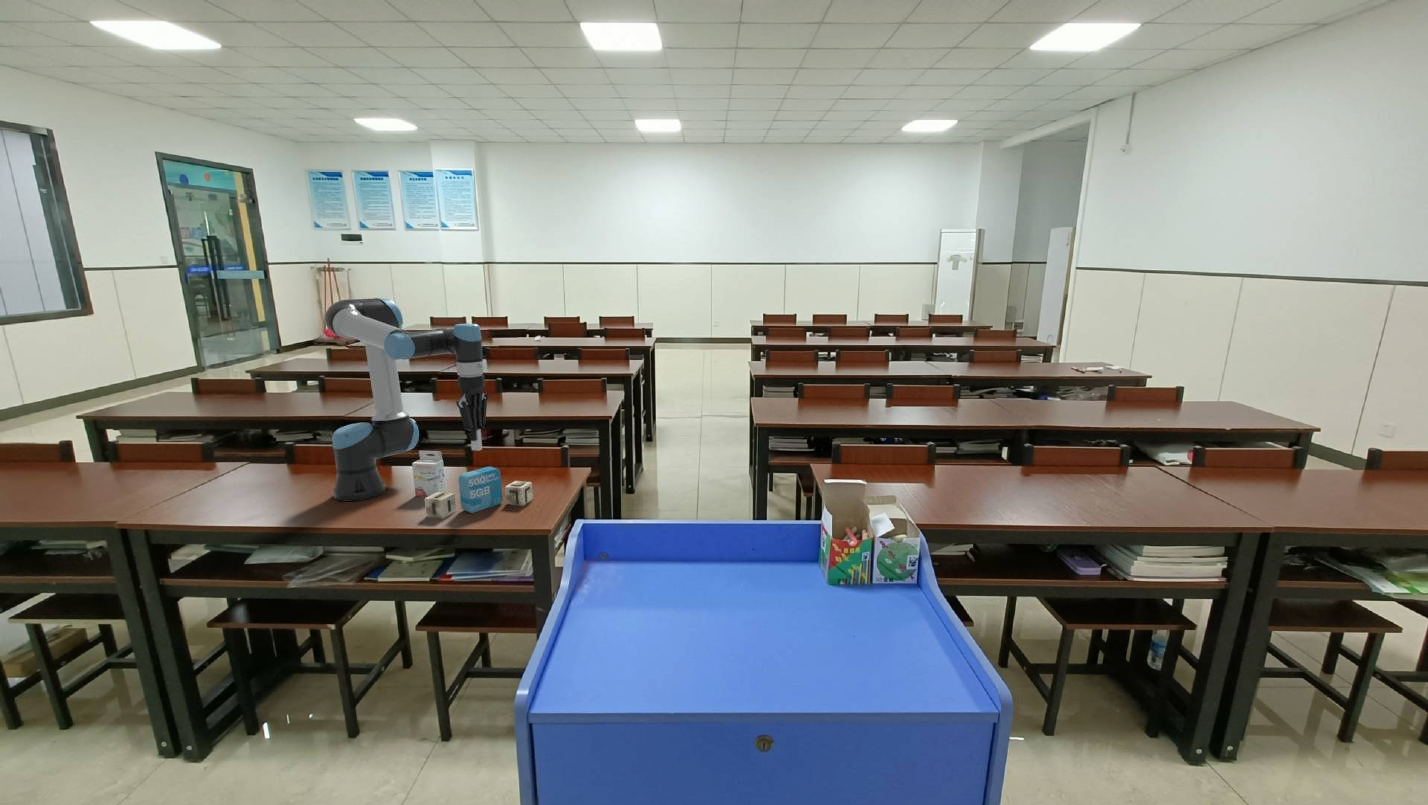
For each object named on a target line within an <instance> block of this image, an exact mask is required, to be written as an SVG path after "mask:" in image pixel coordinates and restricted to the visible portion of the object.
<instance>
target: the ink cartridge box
mask: <svg viewBox="0 0 1428 805" xmlns="http://www.w3.org/2000/svg"><path fill="white" fill-rule="evenodd" d="M418 455H419V459H417V460H415V461H414V462H412V463H411V466H412V475H413V486H414V495H415V497H425V498H427V497H429V496H431V495H433V494H435V493H437V492H445V493H447V488H446V478H445V471H444V469H445V468H444V460H443V456H442V452H441V451H440V450H439V451H438V450H418Z"/></svg>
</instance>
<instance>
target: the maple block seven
mask: <svg viewBox="0 0 1428 805" xmlns="http://www.w3.org/2000/svg"><path fill="white" fill-rule="evenodd" d="M504 490H505V491H504V492H505V502H506V503H505V504H506V505H508V504H510V505H511V506H518V507H519V506H520V507H522V506H523V507H524V506H525V505H527V504H528V503H531V501H533V500H532V499H534V495H533V482H531V481H522V480H514V481H513V482H511V483H509V484H507V485H506V486H505V487H504ZM526 503H527V504H526Z"/></svg>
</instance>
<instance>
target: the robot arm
mask: <svg viewBox="0 0 1428 805" xmlns="http://www.w3.org/2000/svg"><path fill="white" fill-rule="evenodd" d="M403 318H404V317H403V315H402V312H401V309H400V308H399V306H398V305H397V304H396V303H395V302H394V301H393V300H390V299H389V298H379V297H374V298H358V299H357V298H356V299H355V298H354V299H342V300H339V301H336V302H334V303H333V304H332V305H330V306H329V307H328V308H327V310H326V312H325V314H324V322H325V326H326V327H327V329H328V330H329V331H330V332H331V333H333V334H334V335H335V336H338V337H341V338H344V339H352V338H353V339H355V340H358V341H360V342H361V343H363V344H364V345H365V353H366V357H367V358H366V359H367V365H368V372H369V377H370V384H371V391H372V397H373V403H374V404H373V406H374V410H375V414H374V415H373V416H372V417H371V422H356V423H351V424H347V425H345V426H341V427H339V428H337V429H336V430H335V431H334V432H333V433H332V448H333V456H334V461H335V468H336V479H335V484H334V488H333V498H335V499H334V500H336V499H337V500H336V501H339V500H345V501H344V502H350V501H349V500H357V501H362V500H367V499H371V498H370V497H372V498H374V497H377V496H379V494H380V495H382V494H383V493H384V492H385V491H386V486H385V481H384V480H383V479H382V477H381V475H380V473H379V471H378V468H377V460H378V459H382V458H385V457H390V456H395V455H398V454H403V453H405V452H407V451H411V450H412V449H414V448H415V447H416V445H417V444H418V442H419V437H420V436H419V435H420V432H419V427H418V424H417V422H416V420H415V419H413V418H411V417H410V414H409V413H408V412H406V411H405V410H404V407H403V406H404V405H403V400H402V392H401V386H400V378H399V372H398V365H397V360H402V361H406V360H408V359H415V358H423V357H430V356H438V355H447V354H448V355H449V354H450V355H455V360H456V361H455V363H456V374H457V376H458V377H457V384H458V388H459V389H460V390H461V396H460V397H461V398H460V400H456V406H457V407H458V410H459V414H460V417H461V418H460V419H461V421H462V426H463V428H464V431H465V430H466V431H469V439H470V444H471V451H477V452H478V451H479V452H480V451H482V450H483V443H482V430H483V429H485V426H486V422H487V421H486V420H487V406H488V400H489V394H488V393H484V391H483V388H485V385H486V383H485V382H486V380H485V375H484V361H483V360H484V359H483V358H484V357H483V344H482V343H483V342H482V341H483V340H482V338H483V336H482V333H481V326H480V325H479V324H477V323H457V324H454V325H453V329H449V328H445V327H444V328H443V327H440V328H433V329H431V330H423V331H420V330H419V331H408V330H405V329H402V328H403V325H404V319H403ZM371 423H372V424H371ZM346 500H347V501H346Z"/></svg>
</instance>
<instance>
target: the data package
mask: <svg viewBox="0 0 1428 805" xmlns="http://www.w3.org/2000/svg"><path fill="white" fill-rule="evenodd" d="M501 474H502V473H501V471H500V469H498V468H496V467H493V466H486V467H481V468H479V469H478V468H477V469H474V470H471V471H468V472H463V473H461V474H460V475H459V476H458V487H459V488H458V489H459V498H460V507H461V508H460V509H462V510H463V511H465V512H468V513H470V514H475V513H477V512H480V511H483V510H486V508H487V509H491V508H493V507H496V506H498V505H500V504H501V503H502V502H503V500H504V499H503V487H502V484H503V483H502V476H501Z"/></svg>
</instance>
